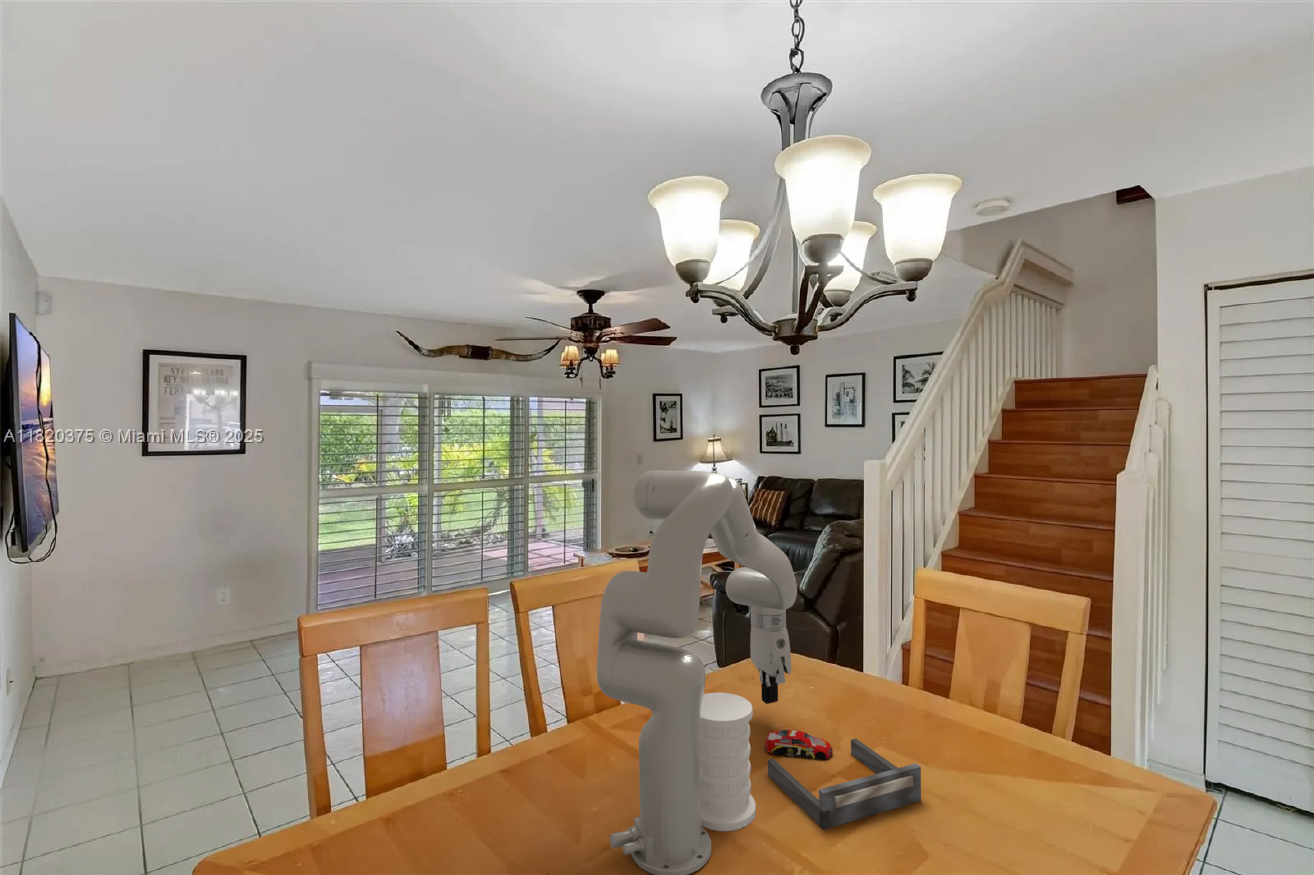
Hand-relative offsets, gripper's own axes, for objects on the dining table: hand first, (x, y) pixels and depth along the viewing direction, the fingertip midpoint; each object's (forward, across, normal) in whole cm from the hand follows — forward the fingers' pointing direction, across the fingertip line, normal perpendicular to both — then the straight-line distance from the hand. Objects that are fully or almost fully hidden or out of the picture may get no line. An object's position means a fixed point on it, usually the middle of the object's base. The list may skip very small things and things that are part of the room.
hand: (769, 701), depth 137 cm
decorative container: (+5, -22, +24) cm, 33 cm away
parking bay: (+5, -24, +1) cm, 25 cm away
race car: (+6, -11, 0) cm, 13 cm away
